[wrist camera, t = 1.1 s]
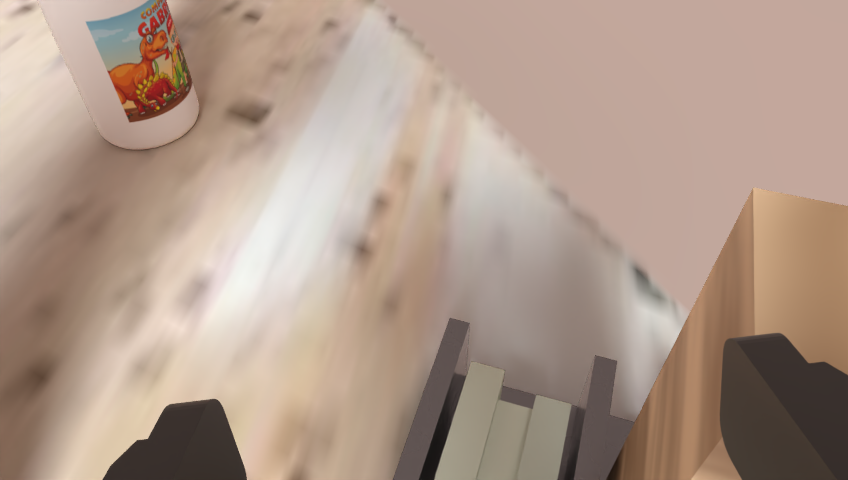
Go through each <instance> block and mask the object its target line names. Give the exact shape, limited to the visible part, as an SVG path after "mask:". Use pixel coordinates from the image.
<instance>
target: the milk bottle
mask: <svg viewBox="0 0 848 480" xmlns="http://www.w3.org/2000/svg"><path fill="white" fill-rule="evenodd" d="M37 1H38V3H39V5H40V8H41V10H42V12H43V15H44V17H45V20H46V22H47V24H48V26H49V28H50V31H51V33H52V35H53V37H54V39H55V41H56V44H57V46H58V48H59V50H60V52H61V54H62V56H63V59H64V61H65V63H66V65H67V67H68V69H69V71H70V73H71V76H72V78H73V80H74V82H75V84H76V86H77V88H78V90H79V92H80V94H81V97H82V99H83V101H84V103H85V105H86V107H87V109H88V111H89V113H90V115H91V117H92V119H93V121H94V123H95V125H96V127H97V129H98V131H99V133H100V134H101V136H102V137H103V138H104V139H106V140H107V141H108V142H110V143H111V144H113V145H115V146H117V147H121V148H125V149H133V150H139V149H149V148H155V147H159V146H163V145H165V144H168V143H170V142H173V141H175V140H176V139H178V138H180V137H182V136H183V135H184V134H185V133H187V132H188V131H189V130H190V129H191V128H192V127H193V125H194V124H195V122H196V120H197V117H198V114H199V102H198V99H197V95H196V92H195V89H194V85H193V82H192V79H191V76H190V73H189V70H188V66H187V63H186V60H185V57H184V54H183V51H182V48H181V45H180V41H179V38H178V35H177V32H176V29H175V26H174V23H173V20H172V17H171V14H170V11H169V8H168V5H167V2H166V0H37Z"/></svg>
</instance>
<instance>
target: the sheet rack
mask: <svg viewBox="0 0 848 480" xmlns="http://www.w3.org/2000/svg"><path fill="white" fill-rule="evenodd" d="M469 328H470V323H467V322H464V321H460V320H456V319H452V318H450V319H449V322H448V325H447V328H446V331H445V333H444V336H443V339H442V342H441V345H440V348H439V350H438V353H437V356H436V359H435V362H434V365H433V367H432V370H431V373H430V376H429V379H428V382H427V384H426V387H425V390H424V393H423V396H422V399H421V401H420V404H419V407H418V410H417V413H416V416H415V418H414V421H413V424H412V427H411V430H410V433H409V435H408V438H407V441H406V444H405V447H404V450H403V452H402V455H401V458H400V461H399V464H398V467H397V469H396V472H395V475H394V478H393V480H434V479H435V475H436V472H437V469H438V466H439V463H440V459H441V456H442V453H443V450H444V447H445V443H446V440H447V437H448V434H449V430H450V427H451V424H452V421H453V418H454V414H455V411H456V408H457V405H458V402H459V398H460V395H461V392H462V389H463V386H464V382H465V379H466V366H467V353H468V341H469ZM616 365H617V361H615V360H611V359H607V358H604V357H600V356H596V355H595V357H594V360H593V363H592V366H591V369H590V372H589V374H588V377H587V380H586V383H585V386H584V389H583V392H582V395H581V397H580V400H579V403H578V406H574V405H571V410H570V415H569V421H568V426H567V431H566V437H565V442H564V447H563V453H562V458H561V463H560V469H559V474H558V479H557V480H606V478H607V477H608V475H609V473H610V471H611V469H612V467H613V465H614V463H615V461H616V459H617V457H618V455H619V453H620V451H621V449H622V447H623V445H624V443H625V441H626V439H627V437H628V435H629V433H630V431H631V429H632V427H633V425H634V423H635V422H632V421H628V420H625V419H621V418H618V417H614V416H610V415H609V412H610V406H611V399H612V392H613V385H614V378H615V371H616ZM535 398H536V395H534V394H530V393H526V392H523V391H519V390H515V389H512V388H508V387H504V386H502V392H501V398H500V400H502V401H505V402H509V403H512V404H516V405H520V406H523V407H527V408H530V409H533V406H534V402H535Z"/></svg>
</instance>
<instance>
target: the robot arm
mask: <svg viewBox="0 0 848 480" xmlns="http://www.w3.org/2000/svg"><path fill="white" fill-rule="evenodd" d="M720 427H721V433H722V437H723V441H724V445H725V448H726V450H727V453H728V455H729V457H730V459H731V461H732V463H733V465H734V466H735V468H736V470H737V472H738V474H739V475H740V477H741V479H742V480H848V375H847V374H845V373H844V372H842V371H840V370H838V369H837V368H835V367H833V366H832V365H830V364H828V363H826V362H816V363H808V362H807V361H806V360H805V358H804V357H803V356H802V355H801V354H800V353H799V351H798V350H797V349H796V348H795V347H794V345H793V344H792V343H791V342H790V341H789V340H788V338H787V337H786V336H784V335H783V334H781V333H770V334H761V335H753V336H745V337H736V338H729V339H727V340H726V341H725V344H724V348H723V361H722V380H721V399H720ZM103 480H247V477H246V472H245V468H244V465H243V462H242V459H241V456H240V454H239V451H238V448H237V445H236V442H235V440H234V437H233V434H232V431H231V428H230V426H229V423H228V420H227V417H226V414H225V412H224V409H223V407H222V405H221V403H220V402H219V401H218V400H216V399H210V400H201V401H193V402H185V403H176V404H170V405H168V406H167V407H166V408H165V409H164V410H163V412H162V414H161V415H160V417H159V419H158V421H157V423H156V425H155V427H154V429H153V430H152V432H151V434H150V436H149V438H148V439H144V440H137V441H136V442H135V443H134V444H133V445H132V446H131V447H130V448H129V449H128V450H127V451H126V452H124V453H123V454H122V455H121V456H120V457H119V458H118V459H117V460H116V461H115V462H114V463H113V464H112V465H111V466H110V468H109V470H108V471H107V473H106V475H105V477H104V478H103Z"/></svg>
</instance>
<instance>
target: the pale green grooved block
mask: <svg viewBox="0 0 848 480" xmlns="http://www.w3.org/2000/svg"><path fill="white" fill-rule="evenodd" d="M504 374H505V370H503V369H500V368H496V367H492V366H488V365H485V364H481V363H477V362H474V361H471V363H470V366H469V369H468V373H467V376H466V379H465V382H464V386H463V389H462V392H461V395H460V398H459V402H458V405H457V408H456V411H455V414H454V418H453V421H452V424H451V427H450V430H449V434H448V437H447V440H446V443H445V447H444V450H443V453H442V456H441V459H440V463H439V466H438V469H437V472H436V475H435V479H434V480H557V479H558V474H559V469H560V463H561V458H562V453H563V447H564V442H565V437H566V431H567V426H568V421H569V415H570V410H571V405H572V404H570V403H566V402H563V401H559V400H555V399H552V398H548V397H544V396H541V395H537V394H536V398H535V402H534V406H533V409H530V408H527V407H523V406H520V405H516V404H512V403H509V402H505V401H502V400H500V398H501V392H502V386H503V380H504Z"/></svg>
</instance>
